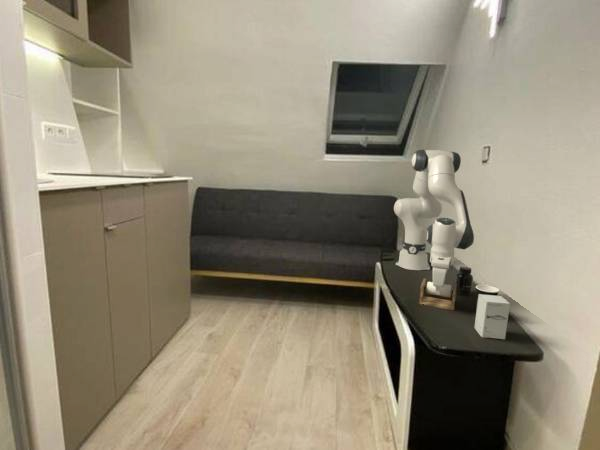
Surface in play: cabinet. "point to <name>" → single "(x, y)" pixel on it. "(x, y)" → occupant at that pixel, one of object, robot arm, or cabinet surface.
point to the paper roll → (444, 290)
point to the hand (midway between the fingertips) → (438, 291)
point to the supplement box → (492, 316)
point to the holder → (437, 298)
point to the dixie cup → (485, 291)
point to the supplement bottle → (464, 281)
